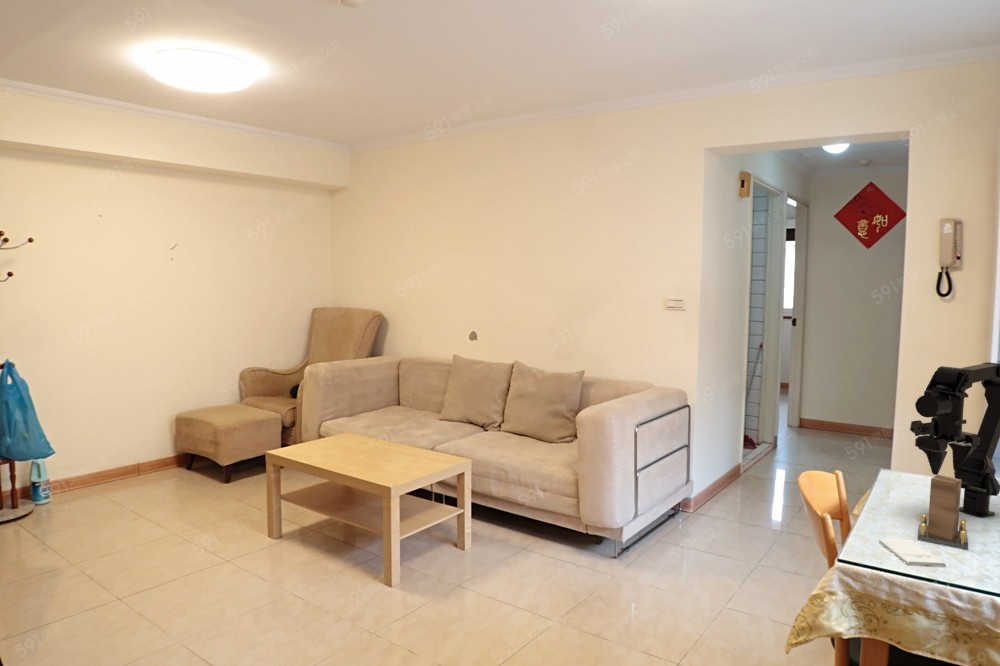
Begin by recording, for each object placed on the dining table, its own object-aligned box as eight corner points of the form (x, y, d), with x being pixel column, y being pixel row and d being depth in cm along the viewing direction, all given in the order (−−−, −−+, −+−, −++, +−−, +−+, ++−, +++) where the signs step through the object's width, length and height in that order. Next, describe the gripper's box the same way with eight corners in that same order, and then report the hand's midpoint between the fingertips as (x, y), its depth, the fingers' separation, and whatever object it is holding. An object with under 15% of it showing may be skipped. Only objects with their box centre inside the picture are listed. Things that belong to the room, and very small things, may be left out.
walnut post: (934, 528, 162) (937, 474, 161) (957, 534, 158) (961, 479, 157) (927, 533, 159) (931, 478, 158) (951, 539, 155) (955, 483, 154)
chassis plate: (919, 527, 165) (920, 512, 165) (966, 536, 160) (967, 521, 159) (917, 539, 157) (918, 523, 157) (967, 549, 152) (968, 533, 151)
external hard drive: (914, 546, 154) (945, 569, 142) (878, 545, 155) (907, 567, 143) (914, 540, 154) (946, 562, 142) (879, 538, 155) (907, 560, 143)
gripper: (939, 406, 180) (935, 461, 181) (897, 411, 172) (893, 468, 173) (983, 414, 170) (979, 471, 171) (940, 419, 162) (936, 479, 163)
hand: (945, 472), depth 170 cm, fingers open, 9 cm apart
